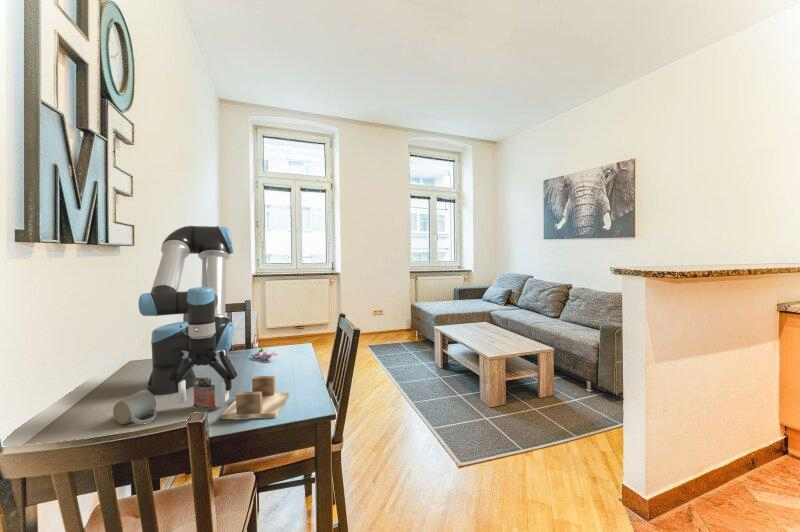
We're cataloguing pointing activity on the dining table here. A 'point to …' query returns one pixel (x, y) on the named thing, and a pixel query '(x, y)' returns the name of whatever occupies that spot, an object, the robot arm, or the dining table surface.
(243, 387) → the dining table surface
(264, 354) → the pink flower
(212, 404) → the lighter
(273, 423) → the dining table surface
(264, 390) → the stand
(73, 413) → the dining table surface
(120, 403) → the ceramic mug
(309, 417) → the dining table surface
